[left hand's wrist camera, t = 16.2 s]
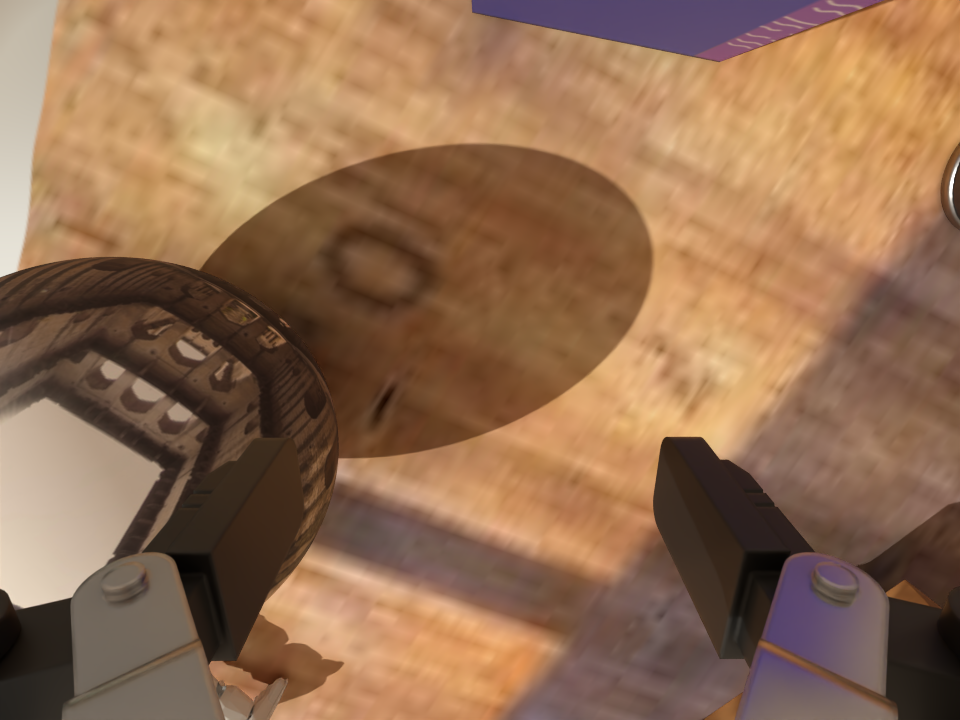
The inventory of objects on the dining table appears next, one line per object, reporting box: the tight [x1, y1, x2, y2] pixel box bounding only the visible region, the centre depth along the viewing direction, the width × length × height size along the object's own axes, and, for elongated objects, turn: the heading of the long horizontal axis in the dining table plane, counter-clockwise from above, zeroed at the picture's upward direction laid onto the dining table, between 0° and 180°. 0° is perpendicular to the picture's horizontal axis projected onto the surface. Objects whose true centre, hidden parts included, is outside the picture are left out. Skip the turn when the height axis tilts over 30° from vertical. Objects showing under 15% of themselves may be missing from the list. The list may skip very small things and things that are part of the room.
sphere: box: [0, 257, 339, 610], centre depth 34 cm, size 25×25×25 cm
